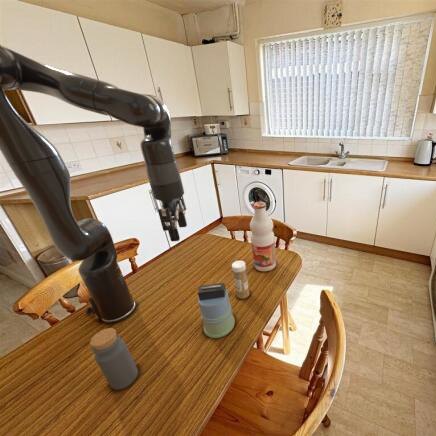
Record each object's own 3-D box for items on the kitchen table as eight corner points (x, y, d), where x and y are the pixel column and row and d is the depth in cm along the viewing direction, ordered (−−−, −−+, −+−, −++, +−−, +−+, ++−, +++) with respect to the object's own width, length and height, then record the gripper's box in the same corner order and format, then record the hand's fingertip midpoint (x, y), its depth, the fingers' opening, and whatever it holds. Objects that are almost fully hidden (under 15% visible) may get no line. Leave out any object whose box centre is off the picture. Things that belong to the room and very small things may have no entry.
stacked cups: (201, 340, 69) (192, 309, 64) (206, 315, 77) (199, 286, 72) (233, 335, 70) (227, 304, 65) (235, 311, 78) (230, 282, 73)
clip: (199, 300, 67) (197, 291, 65) (201, 293, 69) (199, 284, 68) (225, 297, 68) (223, 288, 66) (225, 290, 70) (224, 281, 69)
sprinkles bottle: (251, 295, 85) (247, 264, 79) (239, 301, 82) (234, 269, 77) (246, 288, 88) (242, 258, 82) (234, 293, 86) (229, 262, 80)
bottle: (133, 362, 64) (113, 321, 57) (142, 375, 60) (122, 334, 54) (107, 379, 60) (83, 338, 53) (115, 395, 56) (90, 353, 50)
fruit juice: (281, 265, 100) (277, 203, 88) (263, 275, 95) (256, 210, 83) (267, 256, 107) (262, 197, 95) (249, 265, 101) (241, 204, 89)
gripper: (159, 173, 68) (173, 224, 75) (139, 188, 56) (157, 247, 63) (186, 171, 69) (197, 221, 76) (172, 186, 57) (187, 244, 64)
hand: (179, 233), depth 69 cm, fingers open, 8 cm apart
